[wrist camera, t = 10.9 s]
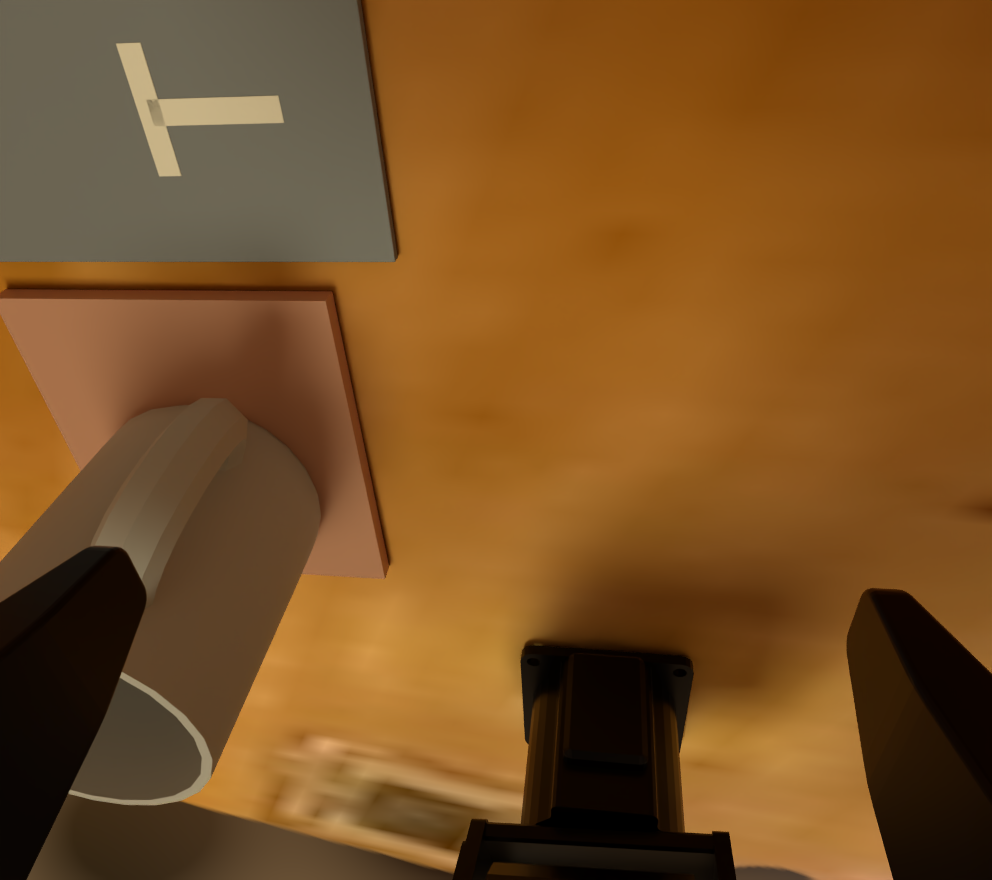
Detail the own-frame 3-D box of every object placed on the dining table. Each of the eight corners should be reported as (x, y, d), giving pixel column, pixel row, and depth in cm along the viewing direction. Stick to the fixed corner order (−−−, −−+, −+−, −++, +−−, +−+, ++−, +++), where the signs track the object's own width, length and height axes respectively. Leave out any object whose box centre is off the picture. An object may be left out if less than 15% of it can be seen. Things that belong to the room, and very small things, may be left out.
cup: (104, 513, 26) (-80, 746, 19) (136, 284, 20) (-114, 502, 13) (297, 587, 28) (188, 832, 21) (380, 390, 22) (267, 641, 15)
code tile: (397, 256, 20) (394, 262, 19) (-72, 257, 21) (-81, 261, 21) (300, -424, 12) (293, -430, 12) (-398, -334, 14) (-416, -338, 14)
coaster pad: (389, 566, 27) (385, 579, 27) (136, 551, 28) (128, 563, 28) (331, 291, 20) (325, 301, 20) (5, 289, 22) (-8, 298, 21)
